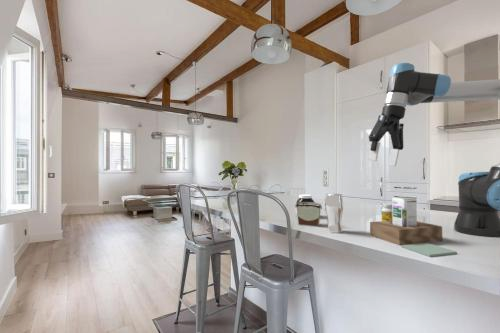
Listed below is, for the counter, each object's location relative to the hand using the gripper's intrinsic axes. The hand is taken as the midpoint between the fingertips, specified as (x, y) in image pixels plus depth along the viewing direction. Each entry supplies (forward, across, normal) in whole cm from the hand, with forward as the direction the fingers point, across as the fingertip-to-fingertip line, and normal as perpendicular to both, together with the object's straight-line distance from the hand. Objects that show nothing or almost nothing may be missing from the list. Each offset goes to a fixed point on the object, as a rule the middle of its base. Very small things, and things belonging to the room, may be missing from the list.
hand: (382, 163), depth 100 cm
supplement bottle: (+25, -24, -5) cm, 35 cm away
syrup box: (+26, -8, +10) cm, 28 cm away
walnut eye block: (+25, -8, +10) cm, 28 cm away
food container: (+32, 0, -27) cm, 42 cm away
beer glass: (+30, +3, -12) cm, 33 cm away
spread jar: (+33, -14, -43) cm, 56 cm away
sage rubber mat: (+25, +2, +21) cm, 33 cm away
